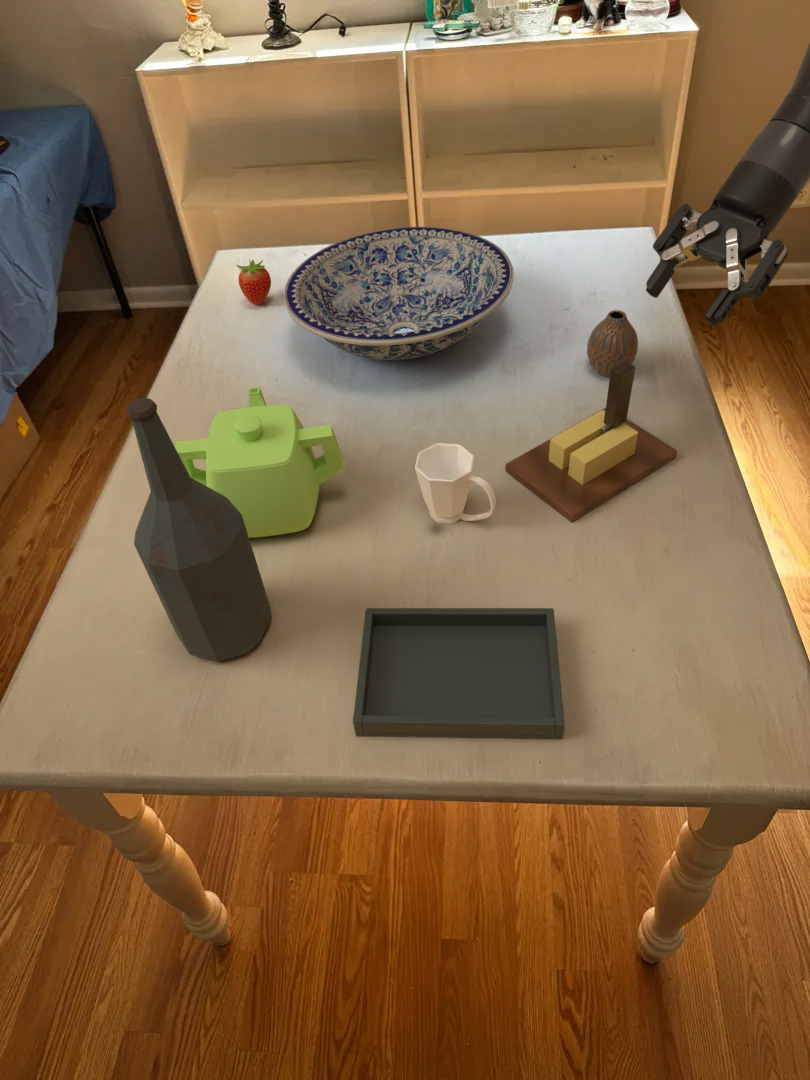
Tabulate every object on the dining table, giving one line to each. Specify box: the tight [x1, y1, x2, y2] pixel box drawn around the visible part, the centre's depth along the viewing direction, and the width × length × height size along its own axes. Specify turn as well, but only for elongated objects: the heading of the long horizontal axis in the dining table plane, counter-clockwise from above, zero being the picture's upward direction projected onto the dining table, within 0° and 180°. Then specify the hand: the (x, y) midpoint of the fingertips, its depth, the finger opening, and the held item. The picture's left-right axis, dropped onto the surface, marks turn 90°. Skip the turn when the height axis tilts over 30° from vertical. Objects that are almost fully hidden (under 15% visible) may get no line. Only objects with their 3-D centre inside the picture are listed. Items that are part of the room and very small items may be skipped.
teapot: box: [173, 386, 345, 539], centre depth 95 cm, size 18×20×13 cm
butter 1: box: [549, 409, 607, 470], centre depth 98 cm, size 9×2×4 cm, turn 126°
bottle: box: [126, 397, 272, 663], centre depth 75 cm, size 10×10×30 cm
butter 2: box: [568, 423, 638, 485], centre depth 96 cm, size 9×2×4 cm, turn 126°
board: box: [504, 407, 678, 523], centre depth 99 cm, size 18×12×1 cm, turn 126°
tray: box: [352, 607, 565, 740], centre depth 78 cm, size 20×14×3 cm
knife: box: [601, 361, 636, 435], centre depth 96 cm, size 4×2×12 cm, turn 126°
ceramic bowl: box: [283, 226, 515, 361], centre depth 120 cm, size 34×34×10 cm
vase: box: [586, 309, 639, 378], centre depth 110 cm, size 7×7×9 cm
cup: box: [414, 442, 497, 525], centre depth 92 cm, size 7×10×8 cm
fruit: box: [236, 259, 272, 306], centre depth 130 cm, size 5×5×8 cm
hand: (678, 308), depth 91 cm, fingers open, 8 cm apart
